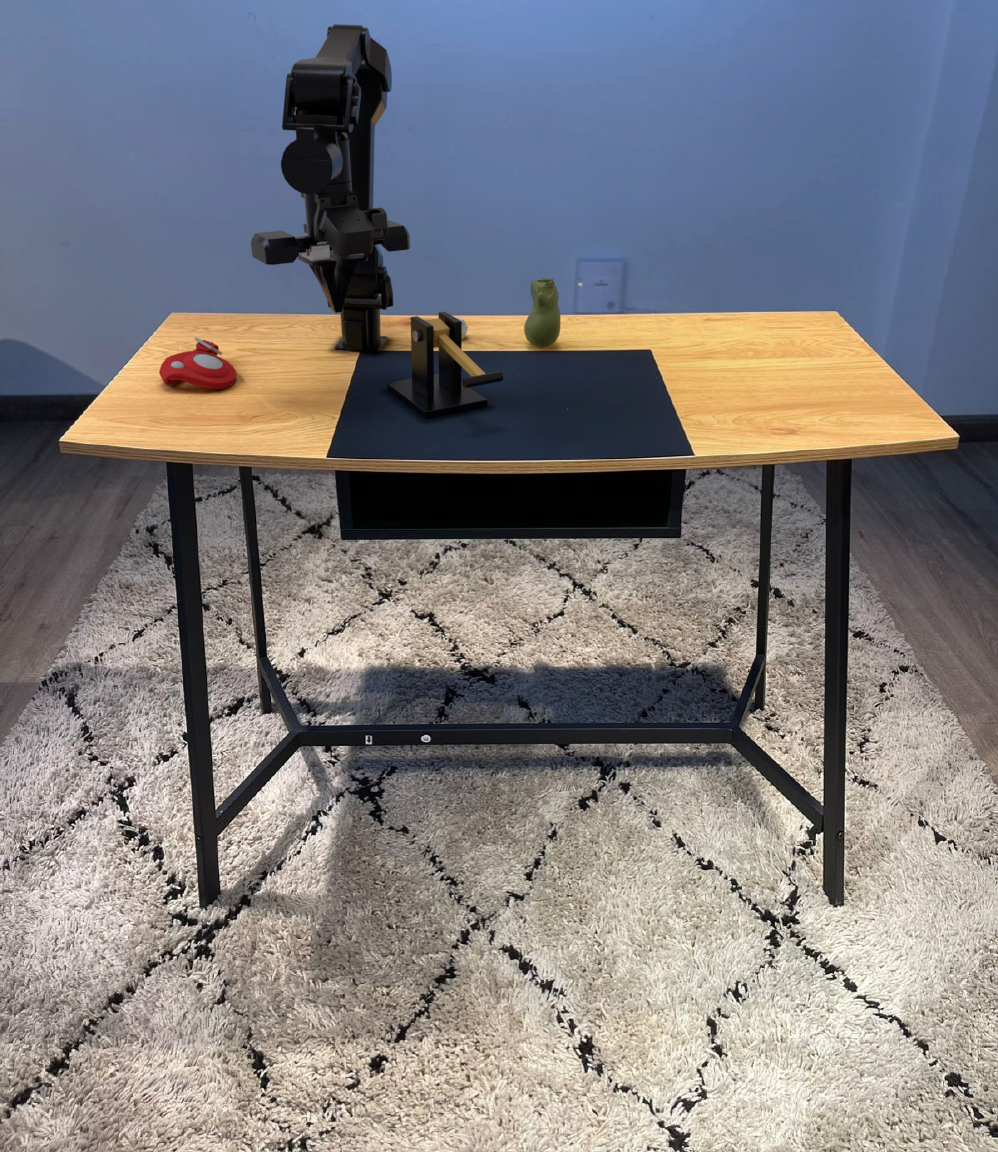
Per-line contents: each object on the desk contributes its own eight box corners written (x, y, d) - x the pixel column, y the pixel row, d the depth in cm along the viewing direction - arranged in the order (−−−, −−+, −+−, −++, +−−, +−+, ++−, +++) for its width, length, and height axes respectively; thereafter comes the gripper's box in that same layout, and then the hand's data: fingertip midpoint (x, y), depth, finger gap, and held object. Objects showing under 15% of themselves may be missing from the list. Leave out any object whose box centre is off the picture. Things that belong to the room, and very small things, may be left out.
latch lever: (502, 387, 123) (504, 369, 122) (466, 394, 121) (468, 376, 119) (447, 333, 132) (449, 316, 130) (412, 339, 130) (414, 322, 128)
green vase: (563, 351, 151) (567, 283, 146) (528, 353, 150) (531, 285, 145) (553, 338, 156) (556, 273, 150) (519, 340, 154) (522, 274, 149)
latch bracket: (487, 408, 132) (489, 326, 126) (425, 421, 128) (424, 337, 122) (446, 380, 140) (446, 302, 134) (387, 391, 136) (384, 311, 130)
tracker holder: (249, 377, 135) (175, 373, 129) (242, 406, 138) (169, 403, 132) (219, 331, 142) (147, 325, 137) (213, 358, 145) (142, 354, 139)
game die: (439, 338, 154) (439, 318, 153) (459, 333, 156) (459, 314, 155) (452, 344, 152) (452, 325, 150) (472, 340, 154) (472, 320, 152)
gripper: (275, 196, 111) (289, 338, 119) (428, 184, 119) (431, 317, 127) (242, 183, 120) (257, 316, 127) (387, 172, 128) (393, 297, 135)
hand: (337, 312), depth 129 cm, fingers closed
